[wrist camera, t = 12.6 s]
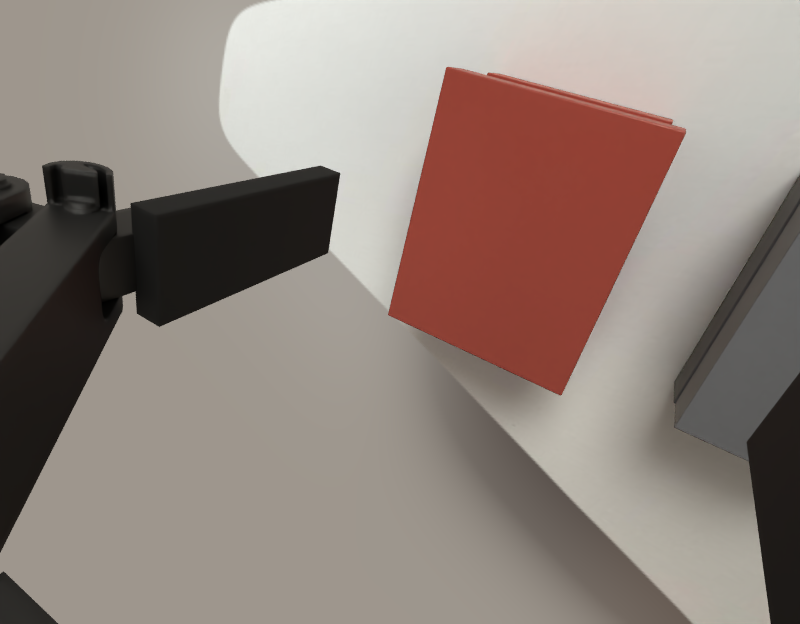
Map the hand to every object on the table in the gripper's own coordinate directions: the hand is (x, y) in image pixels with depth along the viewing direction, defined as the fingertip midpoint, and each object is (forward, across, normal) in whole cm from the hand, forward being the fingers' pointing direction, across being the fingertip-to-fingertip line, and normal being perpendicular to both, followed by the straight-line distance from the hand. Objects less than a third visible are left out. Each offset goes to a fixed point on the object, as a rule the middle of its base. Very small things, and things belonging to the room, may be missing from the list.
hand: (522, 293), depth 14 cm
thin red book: (+13, -3, -3) cm, 14 cm away
